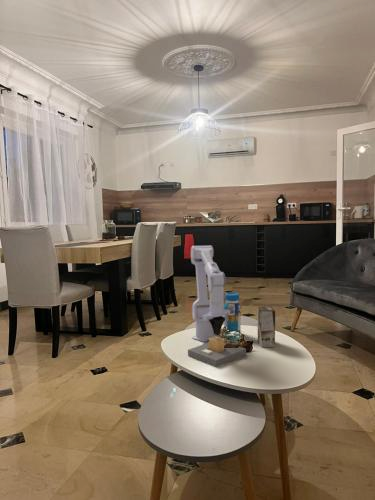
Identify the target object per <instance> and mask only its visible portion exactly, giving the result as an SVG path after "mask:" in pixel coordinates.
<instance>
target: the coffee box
mask: <svg viewBox="0 0 375 500" xmlns="http://www.w3.org/2000/svg"><path fill="white" fill-rule="evenodd" d="M257 342H258V344H259V346H260V348H275V347H276V309H274V308H273V307H272V306H257Z"/></svg>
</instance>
